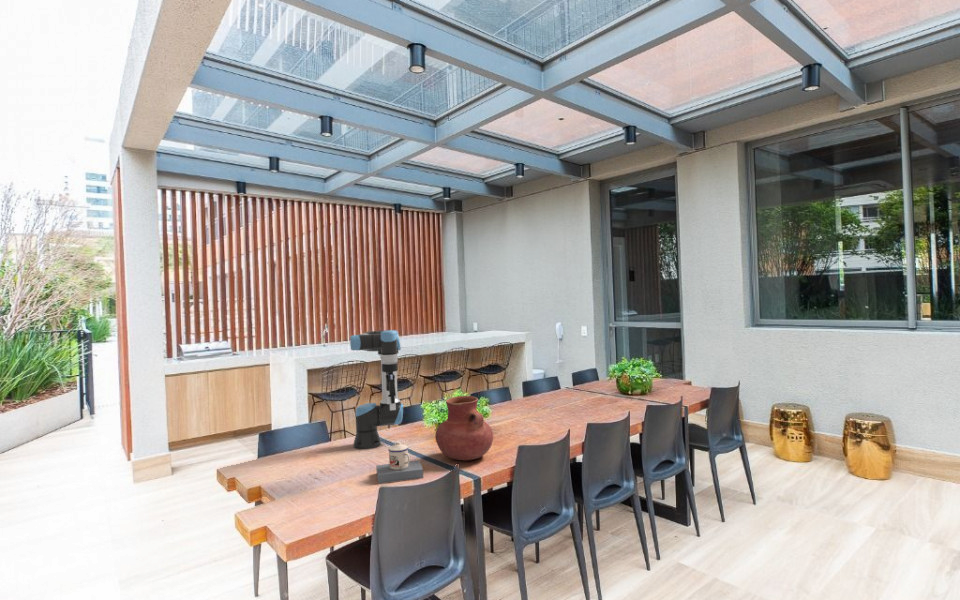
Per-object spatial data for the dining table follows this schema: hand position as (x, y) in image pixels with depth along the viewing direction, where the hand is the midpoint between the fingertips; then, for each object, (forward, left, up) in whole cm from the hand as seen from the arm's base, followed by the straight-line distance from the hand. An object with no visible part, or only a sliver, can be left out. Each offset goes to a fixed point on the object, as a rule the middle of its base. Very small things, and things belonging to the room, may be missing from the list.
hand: (391, 407), depth 241 cm
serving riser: (+10, +2, -30) cm, 32 cm away
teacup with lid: (+11, +2, -26) cm, 29 cm away
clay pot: (-5, +37, -30) cm, 48 cm away
